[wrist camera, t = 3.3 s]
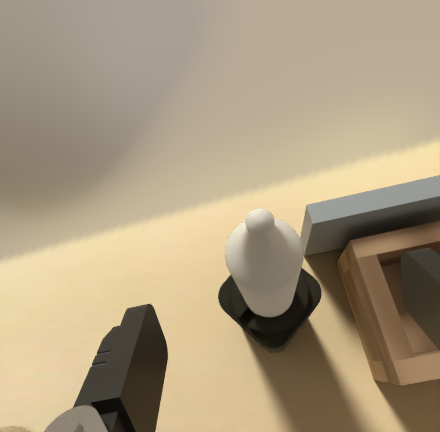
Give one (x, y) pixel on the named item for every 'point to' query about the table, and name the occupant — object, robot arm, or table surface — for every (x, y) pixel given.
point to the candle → (267, 280)
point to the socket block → (389, 304)
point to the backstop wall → (369, 214)
